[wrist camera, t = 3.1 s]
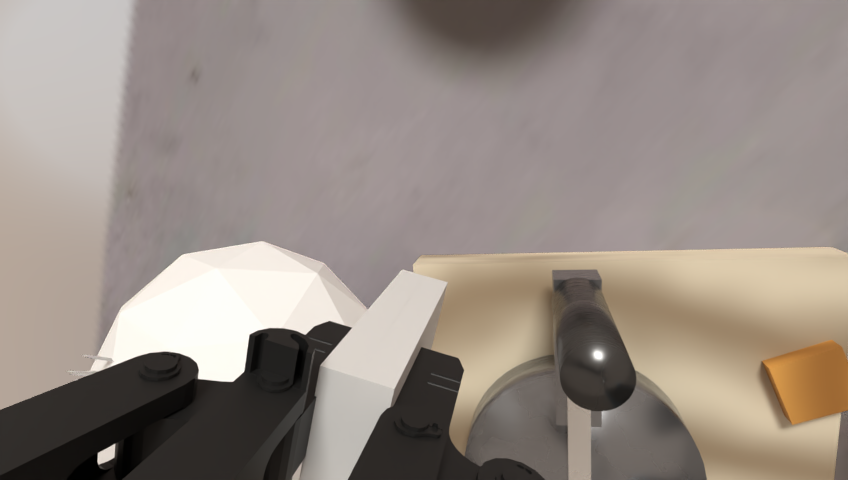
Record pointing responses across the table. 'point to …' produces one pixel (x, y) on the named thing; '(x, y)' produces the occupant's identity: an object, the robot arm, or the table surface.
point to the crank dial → (583, 403)
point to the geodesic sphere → (225, 309)
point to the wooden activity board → (678, 342)
